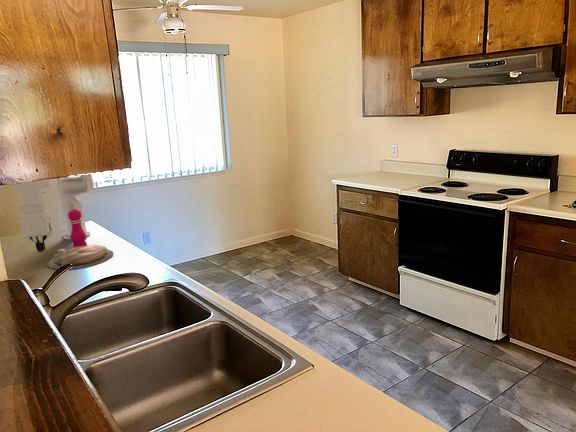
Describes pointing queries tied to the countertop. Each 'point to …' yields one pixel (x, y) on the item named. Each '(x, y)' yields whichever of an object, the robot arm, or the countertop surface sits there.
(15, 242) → the countertop surface
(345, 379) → the countertop surface
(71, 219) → the pepper mill
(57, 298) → the countertop surface
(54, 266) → the base
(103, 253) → the turntable
